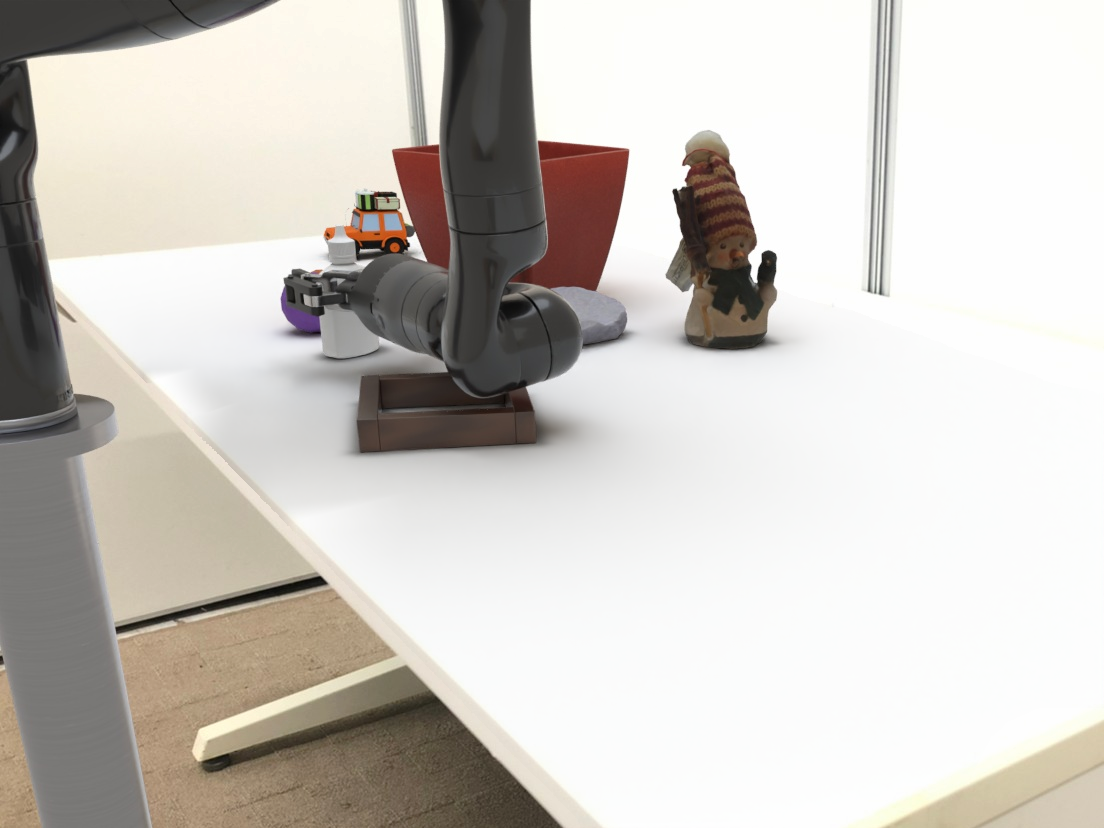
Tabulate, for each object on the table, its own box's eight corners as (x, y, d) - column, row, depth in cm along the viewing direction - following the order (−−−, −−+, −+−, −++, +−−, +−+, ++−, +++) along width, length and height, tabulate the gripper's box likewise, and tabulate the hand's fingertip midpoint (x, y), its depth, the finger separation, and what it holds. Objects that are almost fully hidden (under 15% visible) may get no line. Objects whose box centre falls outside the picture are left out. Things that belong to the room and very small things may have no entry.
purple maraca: (350, 262, 144) (344, 280, 126) (345, 314, 146) (338, 340, 127) (295, 253, 142) (281, 270, 124) (290, 306, 144) (275, 331, 126)
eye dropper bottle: (316, 350, 122) (302, 223, 117) (374, 345, 125) (363, 220, 120) (327, 361, 118) (314, 230, 114) (387, 354, 121) (376, 226, 117)
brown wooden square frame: (359, 452, 94) (356, 419, 93) (363, 404, 105) (360, 375, 104) (536, 442, 97) (534, 411, 96) (521, 397, 108) (519, 368, 107)
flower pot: (529, 325, 134) (522, 160, 128) (399, 303, 143) (386, 147, 137) (635, 297, 149) (634, 147, 143) (512, 278, 158) (505, 137, 152)
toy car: (423, 256, 172) (418, 189, 169) (334, 262, 166) (327, 192, 163) (408, 248, 177) (403, 183, 174) (321, 254, 172) (314, 186, 168)
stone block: (634, 348, 133) (559, 317, 136) (640, 305, 130) (563, 275, 134) (565, 376, 123) (486, 342, 127) (570, 330, 121) (489, 297, 125)
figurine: (632, 345, 127) (629, 135, 119) (671, 320, 138) (671, 127, 130) (762, 356, 124) (768, 141, 116) (791, 330, 135) (798, 132, 127)
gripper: (488, 253, 111) (406, 229, 122) (331, 268, 102) (259, 241, 114) (493, 337, 114) (413, 306, 125) (340, 359, 105) (269, 324, 117)
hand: (340, 275), depth 120 cm, fingers open, 8 cm apart
